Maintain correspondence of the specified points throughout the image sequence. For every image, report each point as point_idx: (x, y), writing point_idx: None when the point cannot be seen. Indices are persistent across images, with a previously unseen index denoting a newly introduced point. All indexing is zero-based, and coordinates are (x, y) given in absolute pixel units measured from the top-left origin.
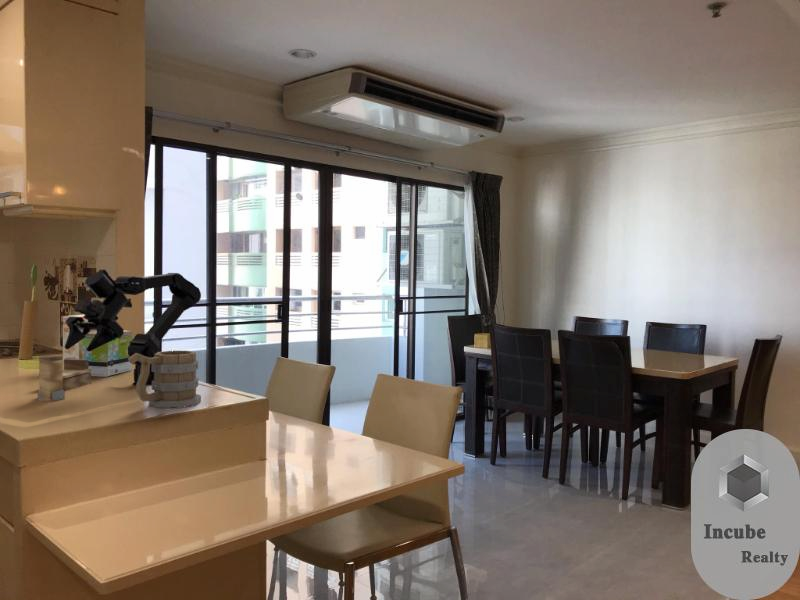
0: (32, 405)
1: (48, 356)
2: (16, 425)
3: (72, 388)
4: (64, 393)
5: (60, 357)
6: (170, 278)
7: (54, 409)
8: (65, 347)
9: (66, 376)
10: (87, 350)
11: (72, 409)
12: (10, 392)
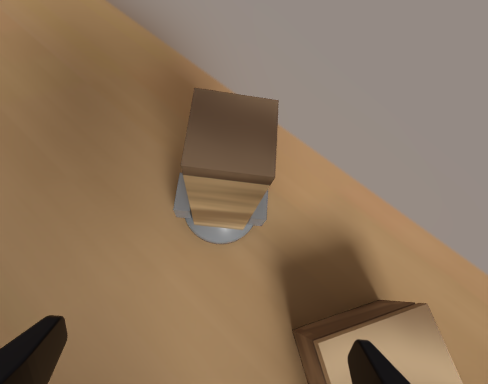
0: None
1: (241, 123)
2: (85, 5)
3: (311, 381)
4: (174, 211)
5: (182, 156)
6: None
7: (128, 137)
8: (356, 340)
9: (319, 351)
10: (61, 324)
11: (77, 154)
12: (458, 265)
